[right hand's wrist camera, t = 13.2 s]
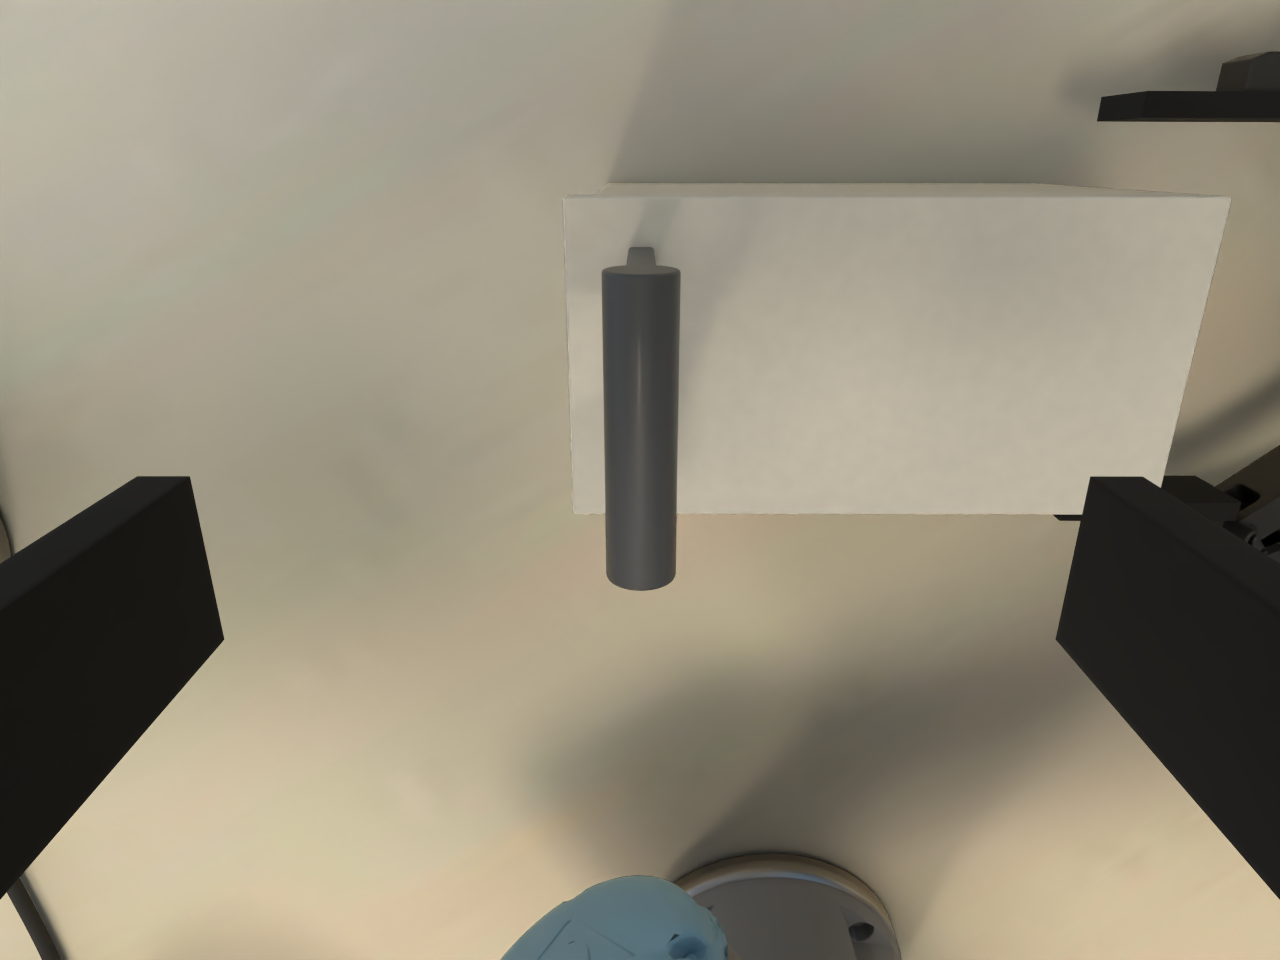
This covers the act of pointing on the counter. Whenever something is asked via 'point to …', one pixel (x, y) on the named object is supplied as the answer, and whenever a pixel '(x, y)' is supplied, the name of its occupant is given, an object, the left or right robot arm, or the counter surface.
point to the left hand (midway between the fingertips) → (1078, 318)
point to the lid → (871, 353)
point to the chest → (862, 189)
